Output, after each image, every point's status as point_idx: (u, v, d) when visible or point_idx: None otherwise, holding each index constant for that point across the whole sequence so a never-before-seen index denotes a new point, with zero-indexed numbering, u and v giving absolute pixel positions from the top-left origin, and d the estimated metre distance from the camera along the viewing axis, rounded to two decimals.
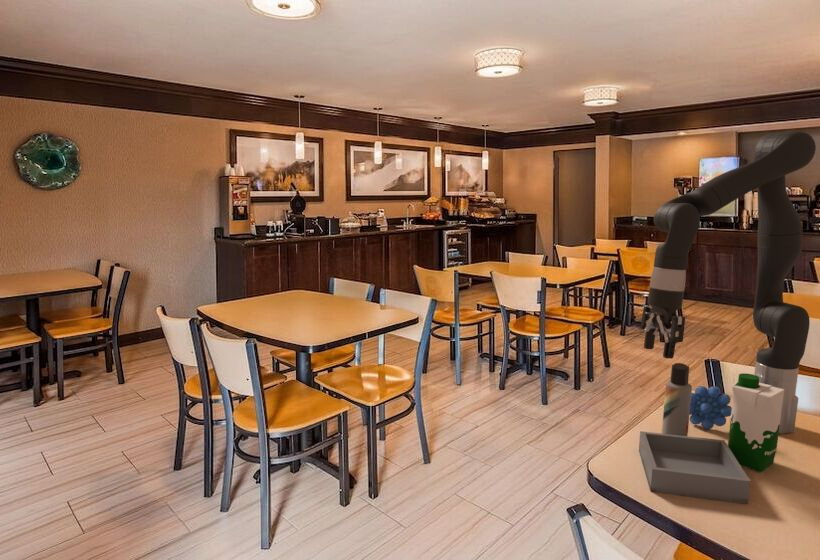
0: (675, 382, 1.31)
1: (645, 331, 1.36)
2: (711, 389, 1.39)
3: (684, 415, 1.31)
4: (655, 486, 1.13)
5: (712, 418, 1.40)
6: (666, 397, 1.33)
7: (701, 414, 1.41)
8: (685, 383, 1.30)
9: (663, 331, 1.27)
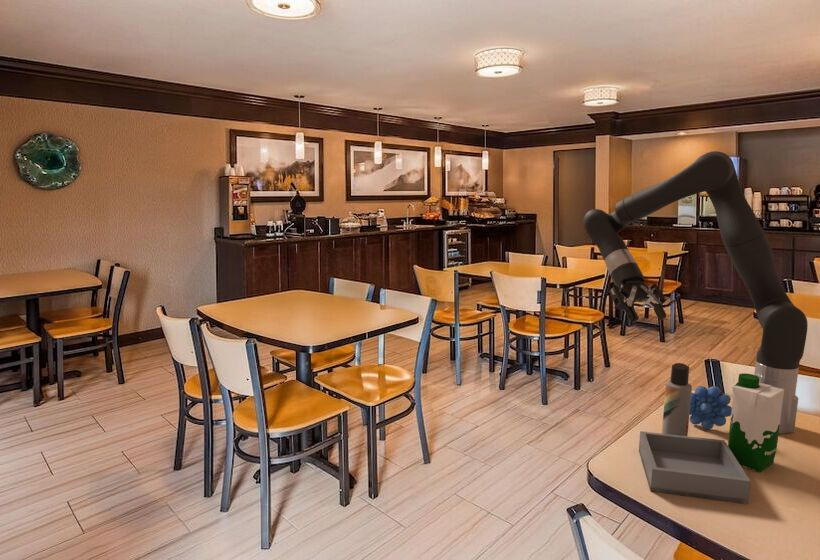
0: (675, 382, 1.31)
1: None
2: (711, 389, 1.39)
3: (684, 415, 1.31)
4: (655, 486, 1.13)
5: (712, 418, 1.40)
6: (666, 397, 1.33)
7: (701, 414, 1.41)
8: (685, 383, 1.30)
9: None
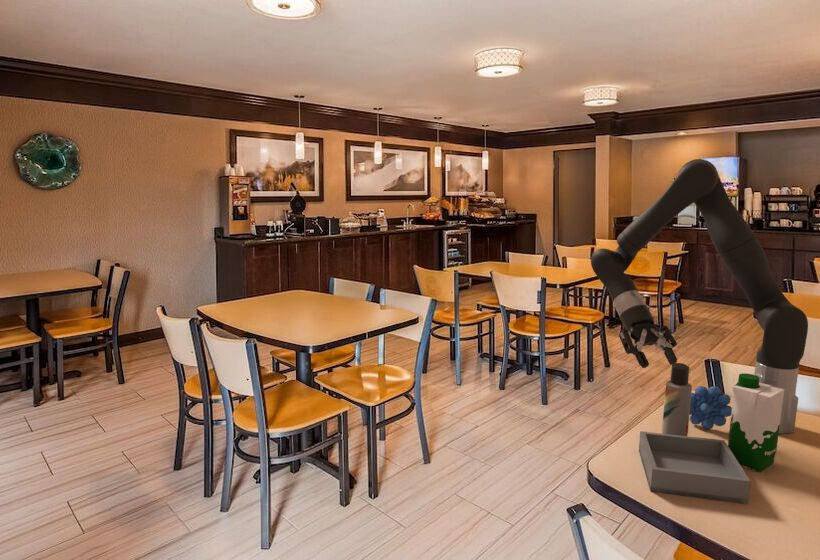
0: (675, 382, 1.31)
1: None
2: (711, 389, 1.39)
3: (684, 415, 1.31)
4: (655, 486, 1.13)
5: (712, 418, 1.40)
6: (666, 397, 1.33)
7: (701, 414, 1.41)
8: (685, 383, 1.30)
9: None
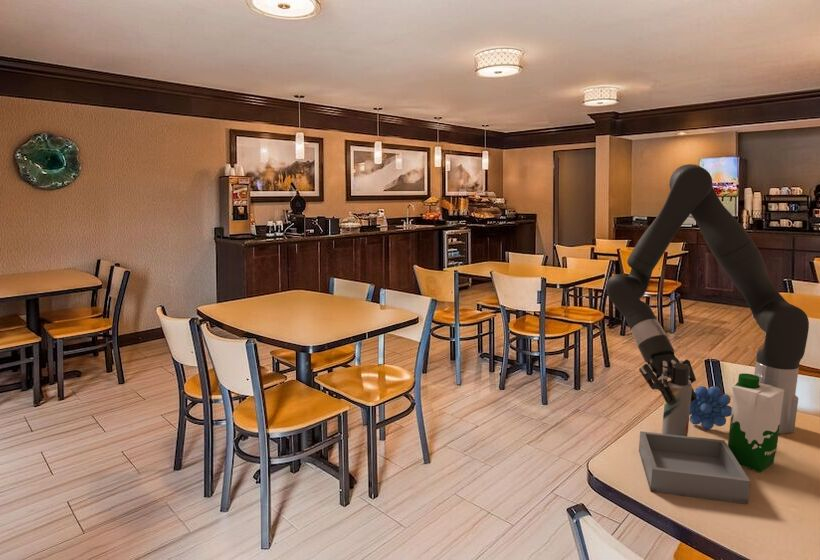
0: (675, 382, 1.31)
1: None
2: (711, 389, 1.39)
3: (684, 415, 1.31)
4: (655, 486, 1.13)
5: (712, 418, 1.40)
6: None
7: (701, 414, 1.41)
8: (685, 383, 1.30)
9: None
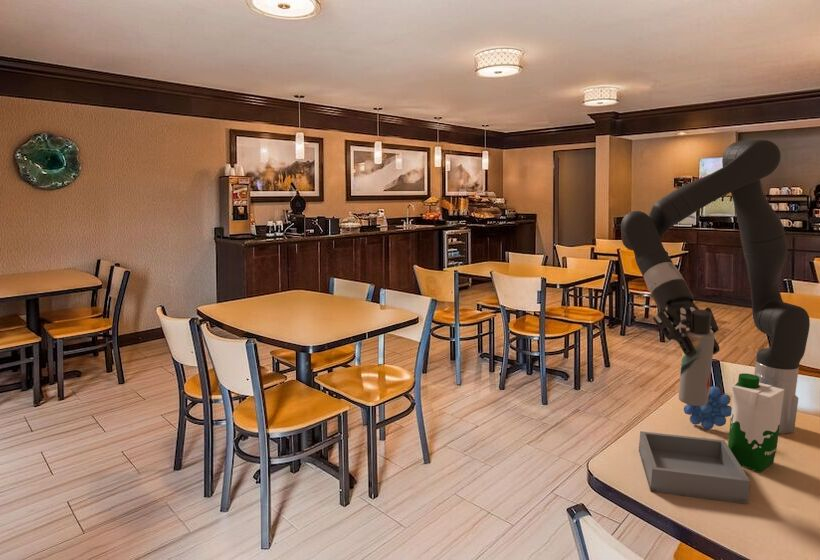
0: (695, 331, 1.13)
1: None
2: (711, 389, 1.39)
3: (705, 369, 1.13)
4: (655, 486, 1.13)
5: (712, 418, 1.40)
6: None
7: (701, 414, 1.41)
8: (707, 332, 1.13)
9: None
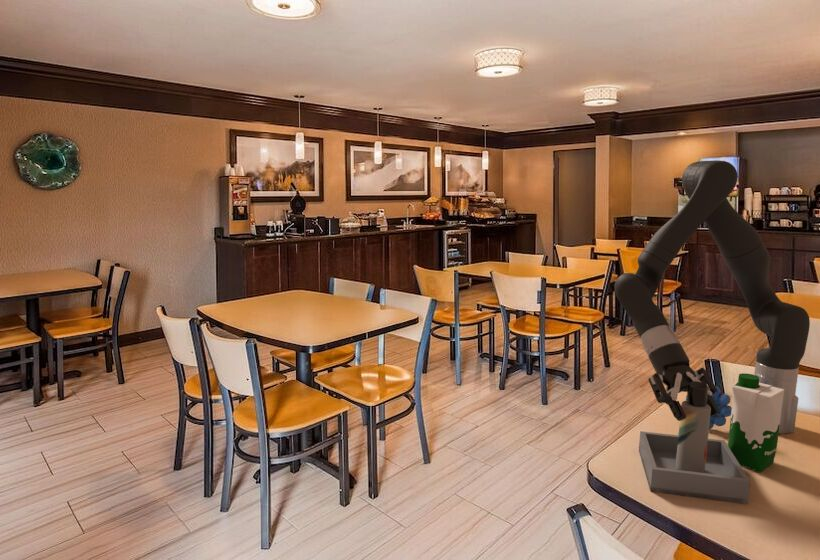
0: (692, 403, 1.16)
1: None
2: None
3: (702, 440, 1.16)
4: (655, 486, 1.13)
5: (712, 418, 1.40)
6: (682, 420, 1.18)
7: None
8: (703, 404, 1.15)
9: None
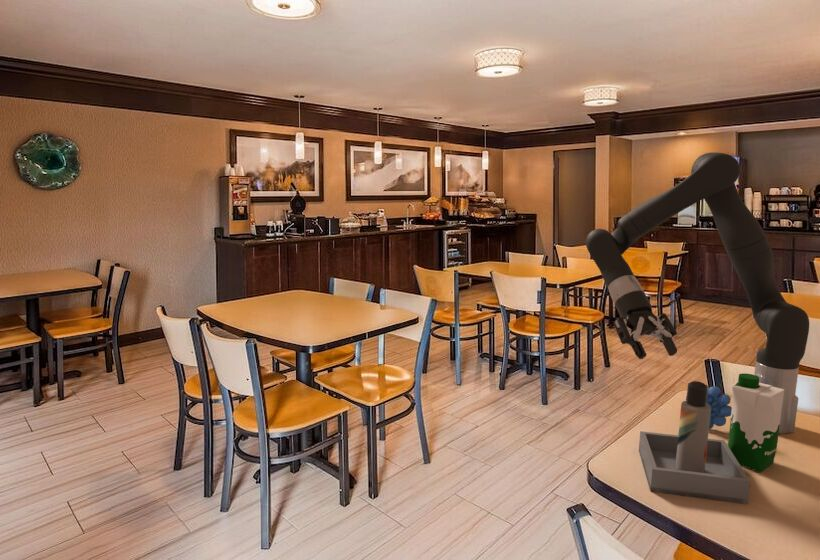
0: (692, 403, 1.16)
1: None
2: (711, 389, 1.39)
3: (702, 440, 1.16)
4: (655, 486, 1.13)
5: (712, 418, 1.40)
6: (681, 420, 1.18)
7: None
8: (703, 404, 1.15)
9: None
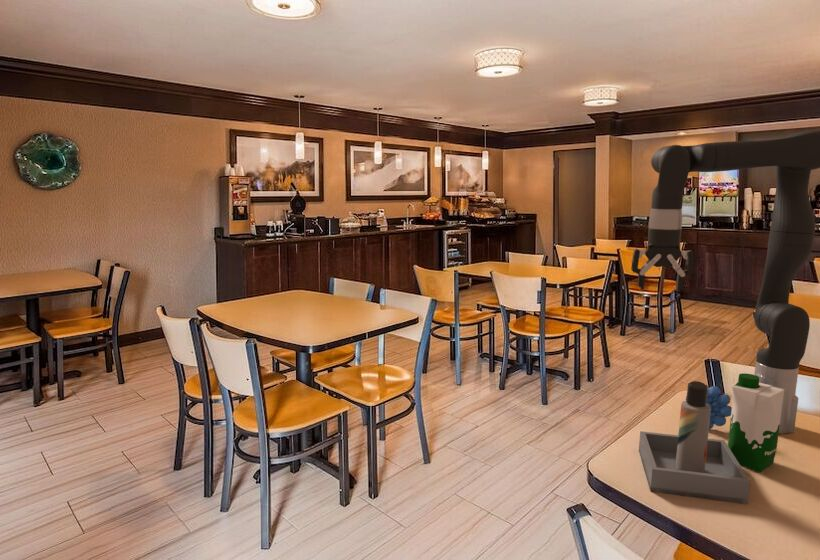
0: (692, 403, 1.16)
1: None
2: (711, 389, 1.39)
3: (702, 440, 1.16)
4: (655, 486, 1.13)
5: (712, 418, 1.40)
6: (681, 420, 1.18)
7: None
8: (703, 404, 1.15)
9: None
